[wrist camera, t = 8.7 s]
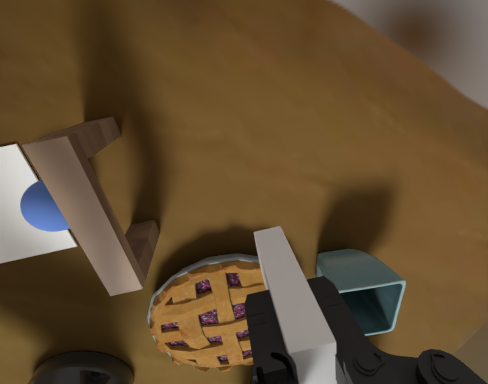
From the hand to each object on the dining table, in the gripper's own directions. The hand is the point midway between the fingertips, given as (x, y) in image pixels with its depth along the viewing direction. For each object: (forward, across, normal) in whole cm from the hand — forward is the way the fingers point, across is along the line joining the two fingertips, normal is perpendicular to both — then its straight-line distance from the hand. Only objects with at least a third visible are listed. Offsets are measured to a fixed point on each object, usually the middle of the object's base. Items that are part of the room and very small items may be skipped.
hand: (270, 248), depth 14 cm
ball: (+14, +19, 0) cm, 24 cm away
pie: (+17, +6, +22) cm, 28 cm away
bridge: (+16, +13, 0) cm, 21 cm away
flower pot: (+17, -11, +19) cm, 28 cm away
